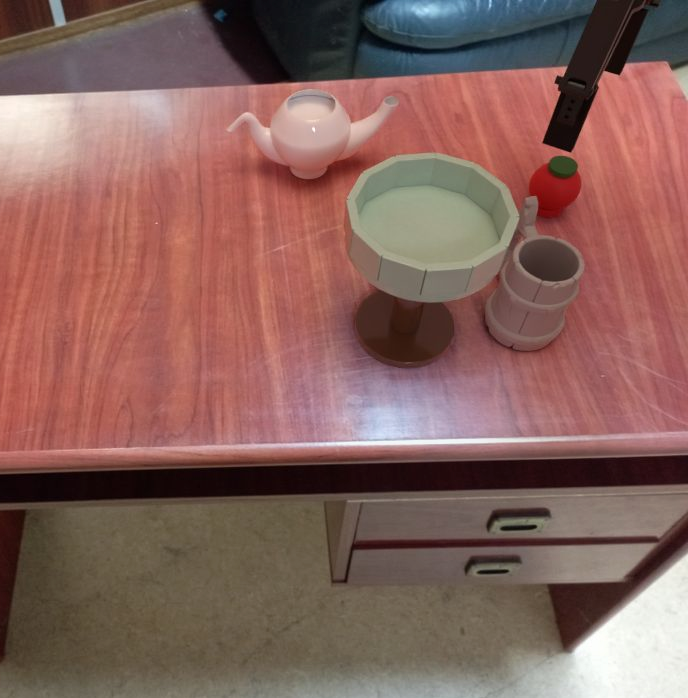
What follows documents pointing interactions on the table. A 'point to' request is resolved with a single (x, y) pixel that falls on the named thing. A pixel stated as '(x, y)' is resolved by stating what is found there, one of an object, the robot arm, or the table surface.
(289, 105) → the teapot
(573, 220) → the table surface
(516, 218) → the dish
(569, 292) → the mug
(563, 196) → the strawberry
